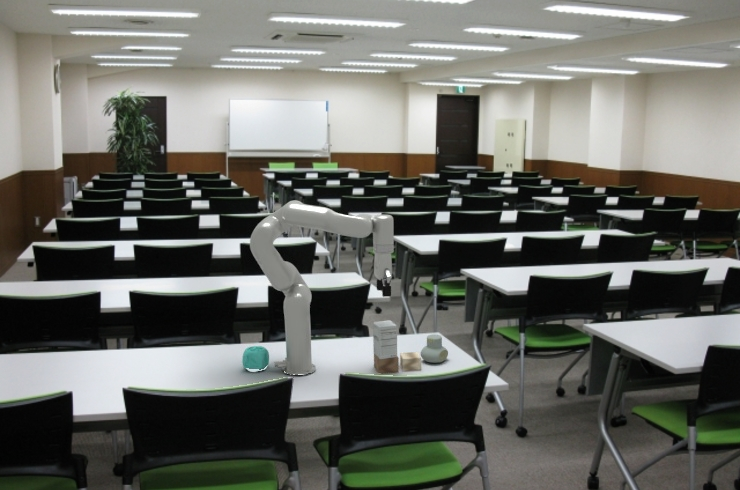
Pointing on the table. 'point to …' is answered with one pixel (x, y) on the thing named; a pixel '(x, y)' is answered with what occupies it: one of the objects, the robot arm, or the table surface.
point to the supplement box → (385, 339)
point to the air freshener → (434, 350)
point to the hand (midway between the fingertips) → (383, 293)
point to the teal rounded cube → (255, 357)
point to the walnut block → (386, 365)
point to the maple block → (410, 361)
